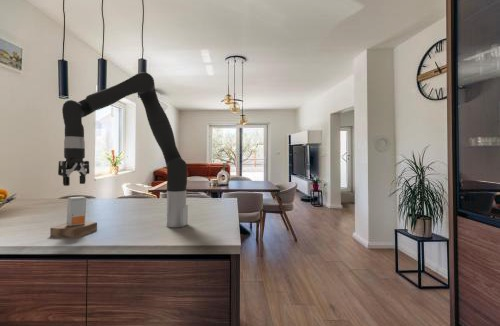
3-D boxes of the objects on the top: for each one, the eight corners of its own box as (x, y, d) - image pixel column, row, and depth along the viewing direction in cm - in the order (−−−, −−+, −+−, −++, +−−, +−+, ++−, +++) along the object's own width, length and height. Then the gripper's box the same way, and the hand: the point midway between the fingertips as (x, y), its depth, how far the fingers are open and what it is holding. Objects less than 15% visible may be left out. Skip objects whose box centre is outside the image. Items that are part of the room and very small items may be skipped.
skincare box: (70, 226, 111) (70, 198, 112) (66, 224, 114) (67, 197, 114) (85, 224, 116) (86, 197, 116) (81, 222, 119) (82, 196, 119)
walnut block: (97, 231, 120) (97, 222, 120) (76, 239, 108) (76, 229, 108) (73, 229, 121) (73, 221, 121) (50, 237, 109) (50, 228, 109)
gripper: (68, 146, 106) (68, 186, 107) (94, 148, 120) (94, 183, 121) (52, 146, 107) (52, 186, 108) (79, 148, 121) (79, 183, 122)
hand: (74, 184), depth 114 cm, fingers open, 8 cm apart
